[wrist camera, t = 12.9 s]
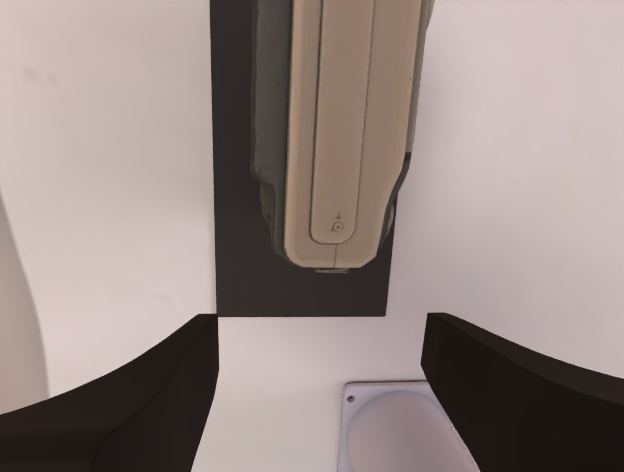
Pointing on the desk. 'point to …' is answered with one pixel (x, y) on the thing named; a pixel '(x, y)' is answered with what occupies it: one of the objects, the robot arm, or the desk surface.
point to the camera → (333, 122)
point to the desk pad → (248, 209)
